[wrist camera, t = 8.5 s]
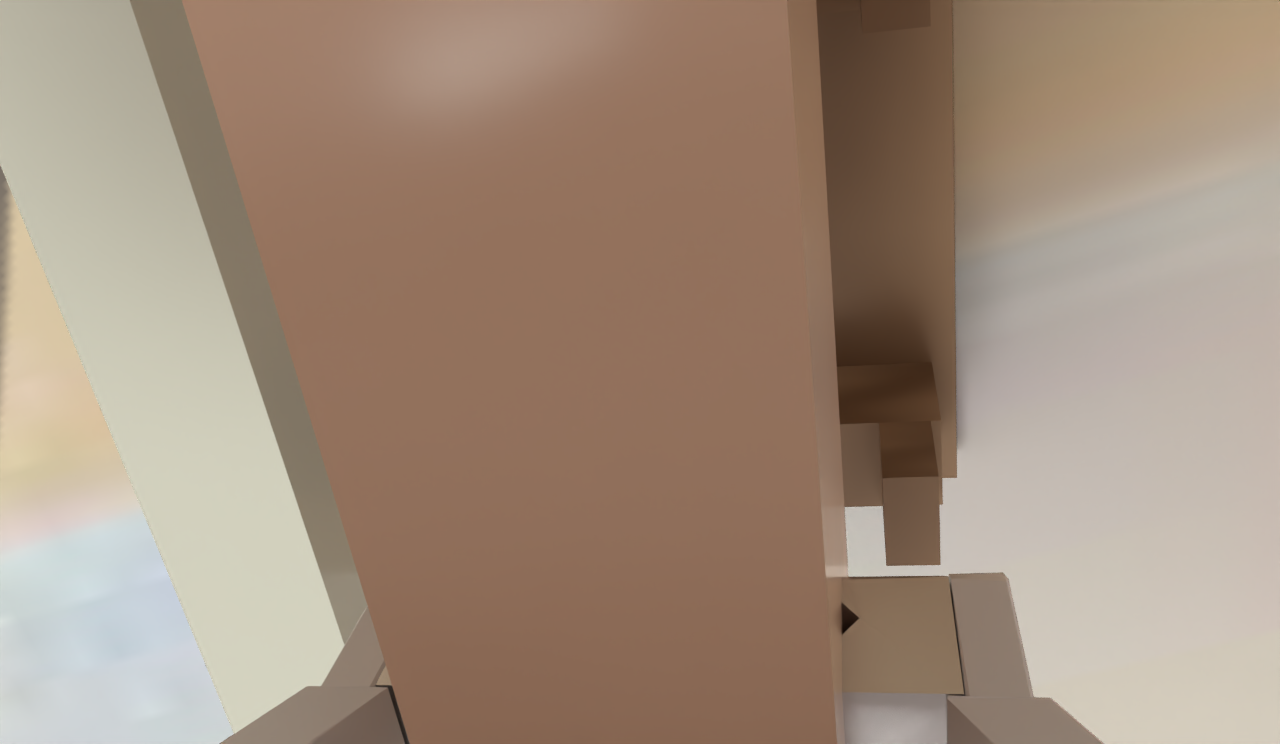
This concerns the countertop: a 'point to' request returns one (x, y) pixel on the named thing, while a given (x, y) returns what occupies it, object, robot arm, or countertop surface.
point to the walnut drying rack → (892, 257)
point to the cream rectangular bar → (178, 333)
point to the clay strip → (561, 349)
